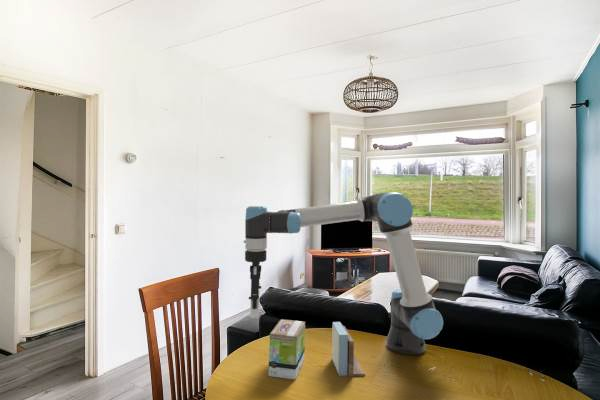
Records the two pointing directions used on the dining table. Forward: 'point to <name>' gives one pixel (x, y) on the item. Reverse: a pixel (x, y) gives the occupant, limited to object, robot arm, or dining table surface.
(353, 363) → the bookend
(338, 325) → the book
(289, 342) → the tea box
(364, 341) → the dining table surface
